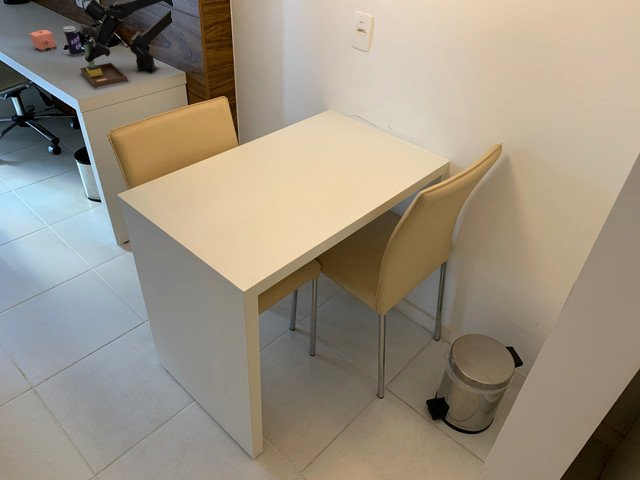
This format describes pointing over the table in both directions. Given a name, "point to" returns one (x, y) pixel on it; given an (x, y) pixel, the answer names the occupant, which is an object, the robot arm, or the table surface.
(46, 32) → the pink cube teapot
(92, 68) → the sponge wand
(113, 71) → the tray
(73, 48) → the beverage can
